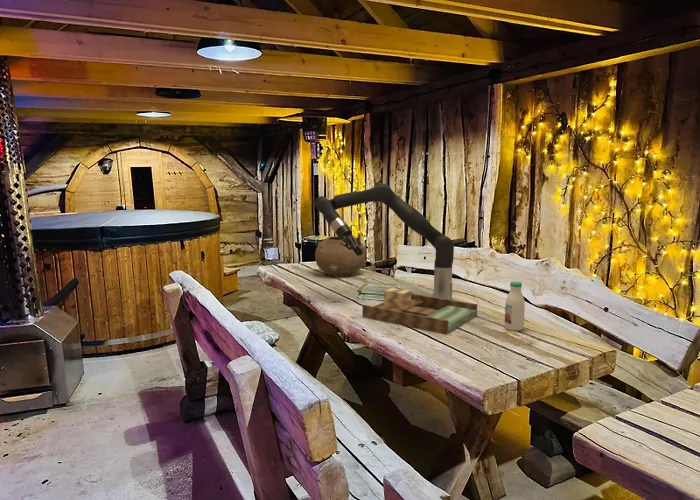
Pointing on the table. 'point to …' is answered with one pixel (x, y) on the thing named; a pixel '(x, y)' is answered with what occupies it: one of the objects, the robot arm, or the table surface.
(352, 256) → the ceramic pot
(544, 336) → the table surface
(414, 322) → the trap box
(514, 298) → the milk bottle
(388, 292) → the maple block
